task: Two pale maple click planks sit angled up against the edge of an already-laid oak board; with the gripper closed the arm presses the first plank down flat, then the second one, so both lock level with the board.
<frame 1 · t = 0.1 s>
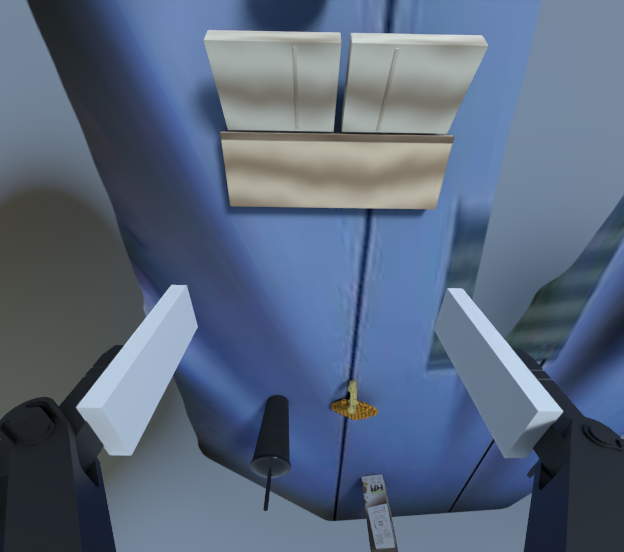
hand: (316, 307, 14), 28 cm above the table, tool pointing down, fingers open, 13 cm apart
coffee box: (373, 480, 85), on the table
drinking cup: (278, 400, 64), on the table
plank 2: (404, 89, 30), point 3 cm above the table, hinge at 30.0°
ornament: (352, 394, 63), on the table
laid board: (334, 170, 37), on the table
plank 1: (277, 86, 30), point 3 cm above the table, hinge at 30.0°
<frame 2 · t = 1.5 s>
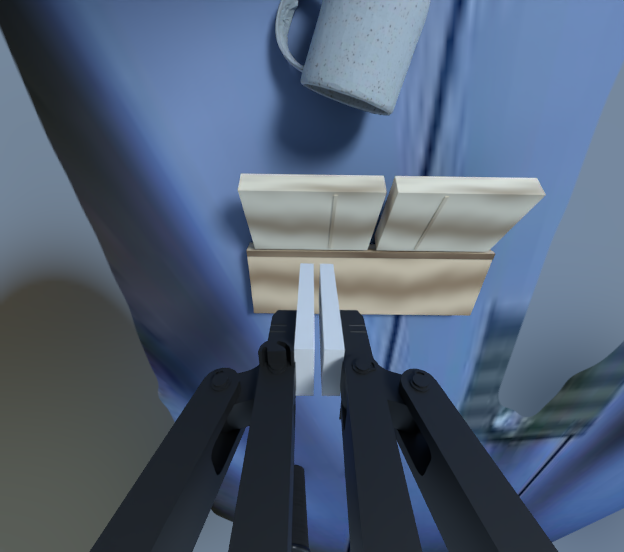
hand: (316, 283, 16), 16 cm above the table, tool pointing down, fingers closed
drinking cup: (293, 469, 62), on the table
plank 2: (447, 218, 28), point 3 cm above the table, hinge at 30.0°
laid board: (363, 276, 35), on the table
plank 1: (311, 216, 28), point 3 cm above the table, hinge at 30.0°
ceramic mug: (341, 48, 24), on the table
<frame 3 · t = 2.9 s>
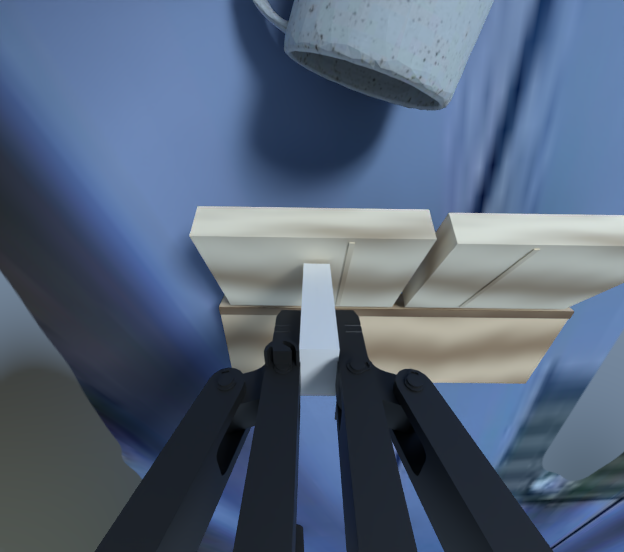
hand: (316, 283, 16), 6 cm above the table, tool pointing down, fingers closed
drinking cup: (290, 526, 53), on the table
plank 2: (517, 270, 18), point 3 cm above the table, hinge at 30.0°
laid board: (383, 332, 26), on the table
plank 1: (312, 266, 18), point 3 cm above the table, hinge at 28.4°, touching gripper
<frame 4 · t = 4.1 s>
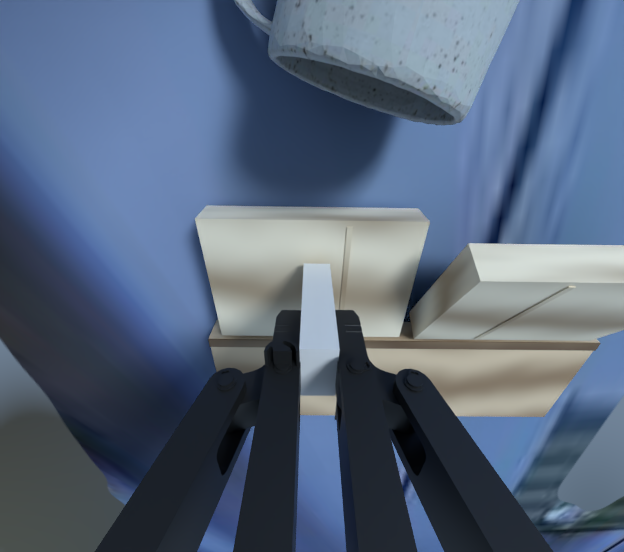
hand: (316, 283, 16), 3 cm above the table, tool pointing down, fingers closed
plank 2: (541, 302, 16), point 3 cm above the table, hinge at 30.0°
laid board: (388, 362, 24), on the table
plank 1: (311, 277, 18), point 1 cm above the table, hinge at 2.9°
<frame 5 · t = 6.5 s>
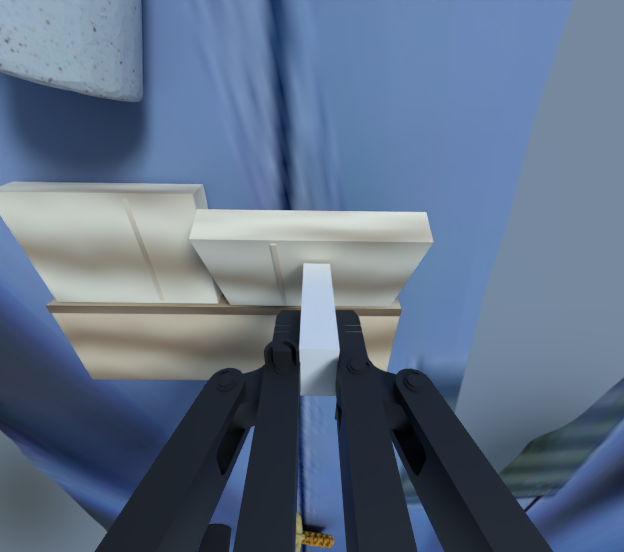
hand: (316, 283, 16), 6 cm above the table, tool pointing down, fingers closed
drinking cup: (218, 527, 53), on the table
plank 2: (311, 267, 19), point 3 cm above the table, hinge at 29.5°, touching gripper
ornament: (302, 518, 52), on the table
laid board: (237, 331, 26), on the table
plank 1: (124, 248, 20), point 1 cm above the table, hinge at 2.9°
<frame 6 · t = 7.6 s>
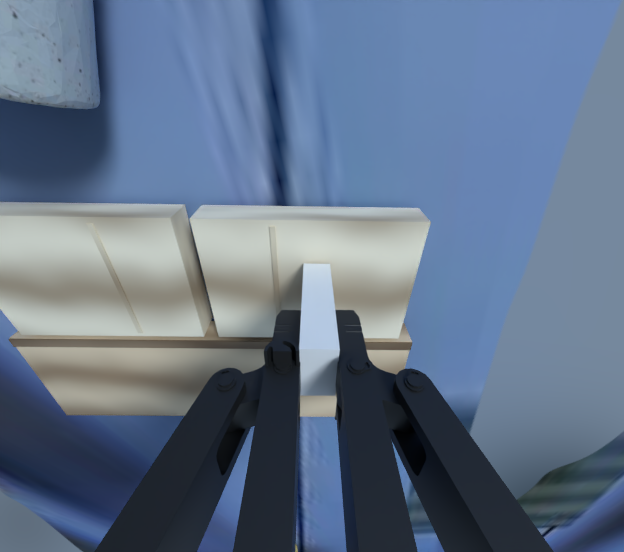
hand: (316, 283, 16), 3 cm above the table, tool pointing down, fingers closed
plank 2: (309, 278, 18), point 1 cm above the table, hinge at 3.1°, touching gripper
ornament: (299, 546, 49), on the table
laid board: (228, 361, 24), on the table
plank 1: (95, 275, 18), point 1 cm above the table, hinge at 2.9°
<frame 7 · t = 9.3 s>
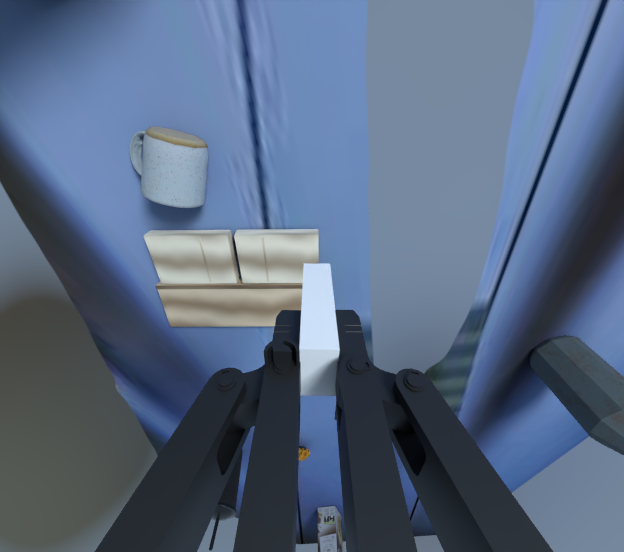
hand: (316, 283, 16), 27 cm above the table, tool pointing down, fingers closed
coffee box: (329, 511, 96), on the table
bottle: (553, 351, 57), on the table
drinking cup: (233, 449, 76), on the table
plank 2: (279, 257, 44), point 1 cm above the table, hinge at 3.0°
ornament: (289, 441, 75), on the table
laid board: (246, 299, 50), on the table
plank 1: (194, 257, 45), point 1 cm above the table, hinge at 2.9°
ceramic mug: (178, 162, 39), on the table
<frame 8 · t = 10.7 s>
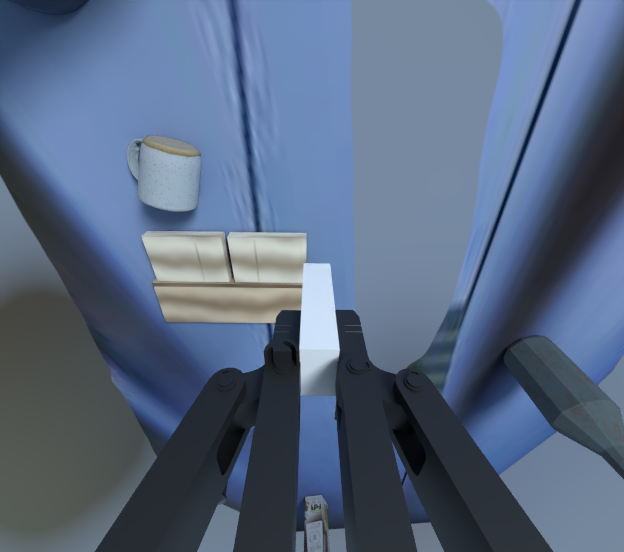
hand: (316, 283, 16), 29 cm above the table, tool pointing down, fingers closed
coffee box: (316, 499, 100), on the table
bottle: (525, 350, 61), on the table
plank 2: (269, 258, 47), point 1 cm above the table, hinge at 3.0°
laid board: (238, 297, 53), on the table
plank 1: (189, 257, 47), point 1 cm above the table, hinge at 2.9°
ceramic mug: (172, 167, 41), on the table
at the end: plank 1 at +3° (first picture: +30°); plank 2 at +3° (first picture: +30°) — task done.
